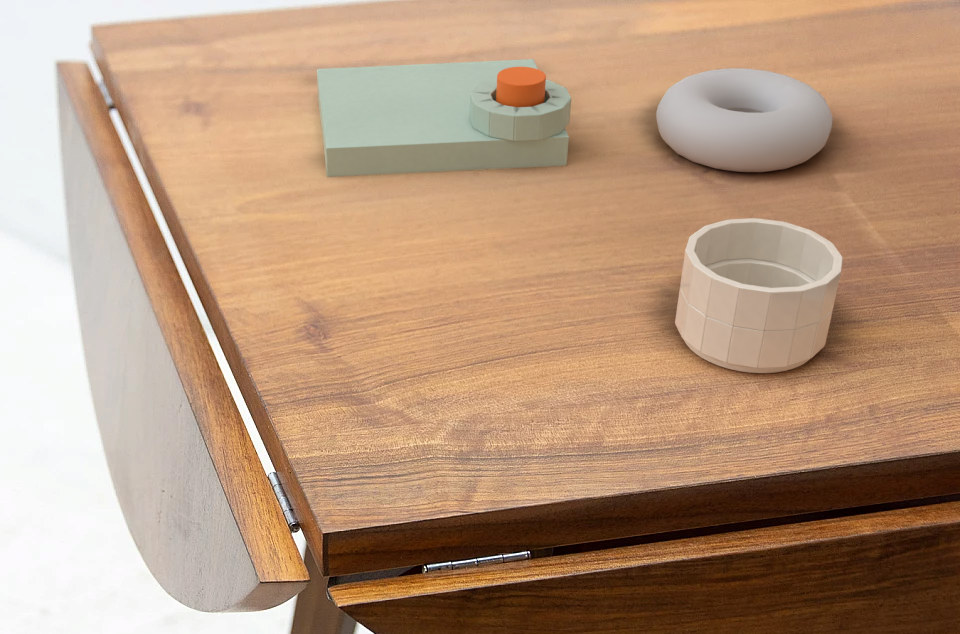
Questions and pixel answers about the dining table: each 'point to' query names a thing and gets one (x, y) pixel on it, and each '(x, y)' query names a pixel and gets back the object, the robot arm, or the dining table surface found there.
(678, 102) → the donut
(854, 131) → the dining table surface
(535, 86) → the button
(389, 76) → the scale
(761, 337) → the bowl
